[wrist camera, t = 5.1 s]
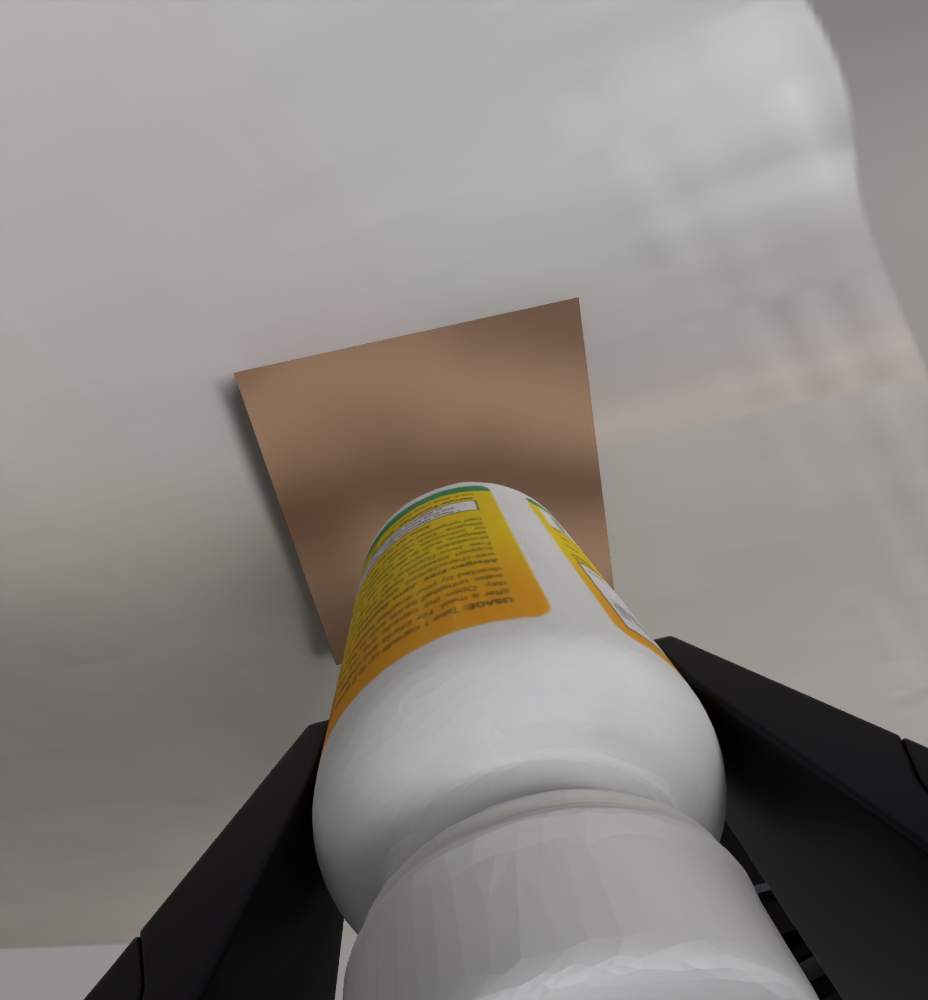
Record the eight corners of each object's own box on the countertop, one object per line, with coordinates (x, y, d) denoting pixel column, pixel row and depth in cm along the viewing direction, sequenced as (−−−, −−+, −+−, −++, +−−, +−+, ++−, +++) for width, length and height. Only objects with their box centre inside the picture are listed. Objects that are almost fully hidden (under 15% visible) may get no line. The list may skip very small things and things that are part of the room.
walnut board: (604, 583, 22) (614, 596, 21) (339, 647, 22) (336, 664, 21) (567, 299, 18) (578, 297, 17) (244, 370, 18) (233, 373, 17)
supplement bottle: (598, 509, 13) (1083, 937, 4) (527, 681, 14) (745, 1305, 5) (393, 449, 12) (339, 837, 3) (338, 641, 13) (176, 1337, 4)
